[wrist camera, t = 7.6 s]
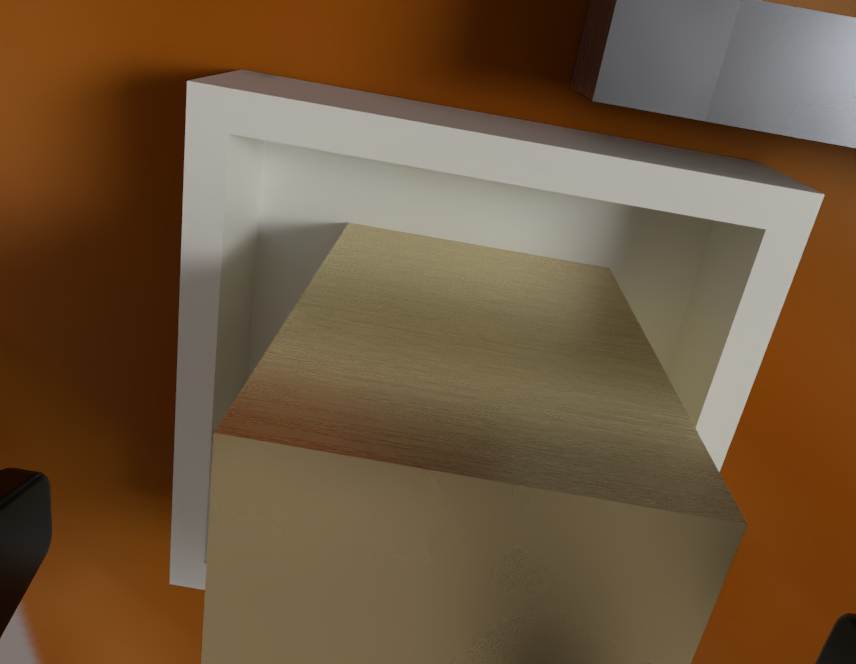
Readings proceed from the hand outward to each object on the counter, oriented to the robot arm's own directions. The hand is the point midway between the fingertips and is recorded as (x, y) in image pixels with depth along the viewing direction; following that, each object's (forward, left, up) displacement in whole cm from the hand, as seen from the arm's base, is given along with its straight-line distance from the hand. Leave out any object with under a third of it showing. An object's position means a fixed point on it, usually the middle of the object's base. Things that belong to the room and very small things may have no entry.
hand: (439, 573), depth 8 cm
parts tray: (0, 0, -6) cm, 6 cm away
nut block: (0, 0, -6) cm, 6 cm away
